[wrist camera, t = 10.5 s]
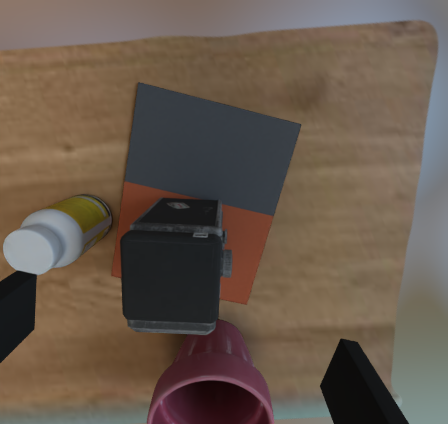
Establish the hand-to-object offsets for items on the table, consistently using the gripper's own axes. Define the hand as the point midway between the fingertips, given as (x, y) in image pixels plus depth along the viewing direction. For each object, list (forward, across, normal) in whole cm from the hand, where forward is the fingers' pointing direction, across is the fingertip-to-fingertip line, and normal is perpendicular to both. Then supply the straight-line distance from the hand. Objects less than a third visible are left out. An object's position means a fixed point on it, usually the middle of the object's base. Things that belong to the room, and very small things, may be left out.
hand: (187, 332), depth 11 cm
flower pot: (+24, +5, -22) cm, 34 cm away
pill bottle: (+25, -16, -6) cm, 30 cm away
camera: (+24, -2, -5) cm, 25 cm away
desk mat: (+24, -2, -1) cm, 25 cm away
